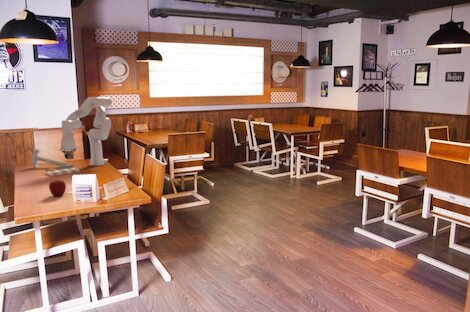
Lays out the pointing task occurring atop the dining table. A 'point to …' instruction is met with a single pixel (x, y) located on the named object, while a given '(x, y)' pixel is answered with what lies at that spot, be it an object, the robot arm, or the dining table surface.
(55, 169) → the rail
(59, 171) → the board
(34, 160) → the hammer
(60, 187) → the apple
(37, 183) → the dining table surface
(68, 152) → the brown block with stick
